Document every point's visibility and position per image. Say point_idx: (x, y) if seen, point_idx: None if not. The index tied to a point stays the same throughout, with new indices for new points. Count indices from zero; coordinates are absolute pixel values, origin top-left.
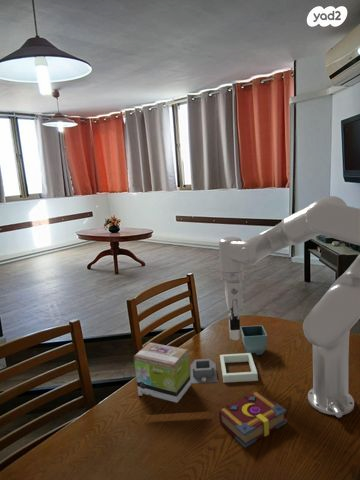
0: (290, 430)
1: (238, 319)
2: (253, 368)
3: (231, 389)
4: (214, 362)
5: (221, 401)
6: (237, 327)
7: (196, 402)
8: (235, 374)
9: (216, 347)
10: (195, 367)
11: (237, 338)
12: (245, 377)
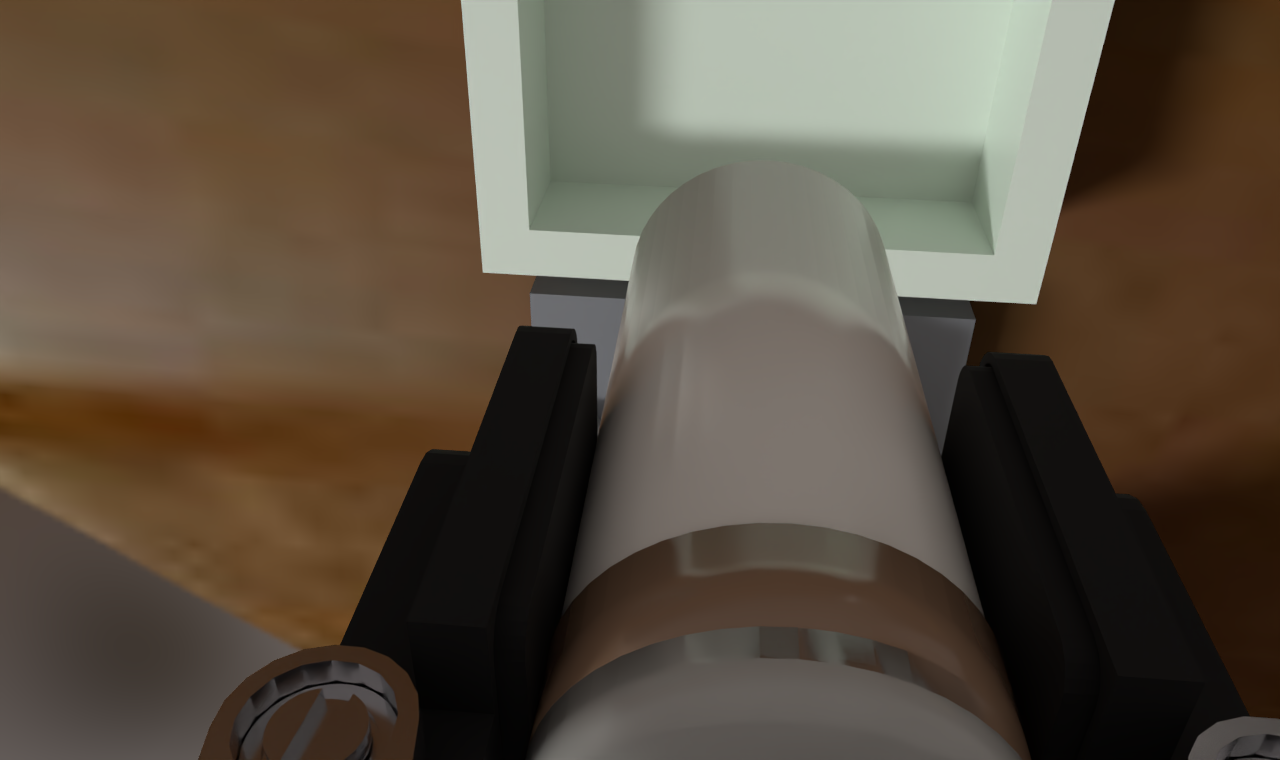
0: None
1: (1162, 679)
2: None
3: (1090, 150)
4: (532, 301)
5: (1272, 292)
6: (1135, 503)
7: (1177, 511)
8: (1071, 136)
9: (71, 199)
10: None
11: (885, 252)
12: None
